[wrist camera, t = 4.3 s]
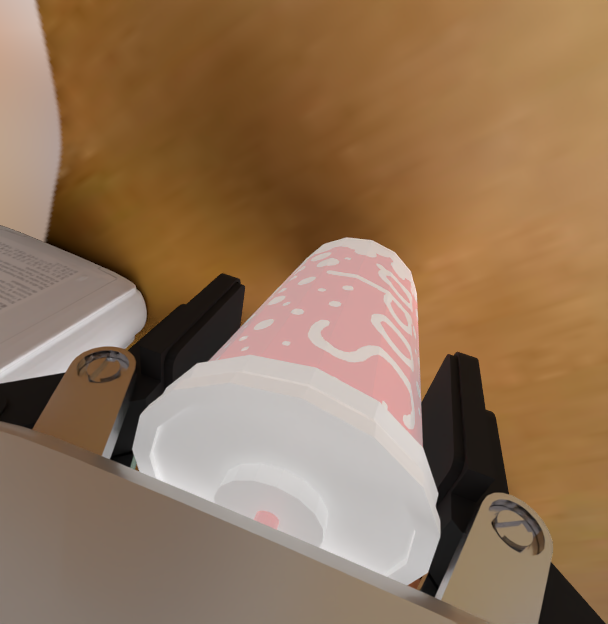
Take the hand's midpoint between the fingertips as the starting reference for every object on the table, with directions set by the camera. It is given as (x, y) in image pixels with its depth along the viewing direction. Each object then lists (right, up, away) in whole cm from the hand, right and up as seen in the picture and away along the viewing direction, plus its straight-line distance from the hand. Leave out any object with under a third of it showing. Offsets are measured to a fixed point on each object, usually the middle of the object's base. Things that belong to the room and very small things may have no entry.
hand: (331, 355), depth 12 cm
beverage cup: (+1, +2, +3) cm, 4 cm away
